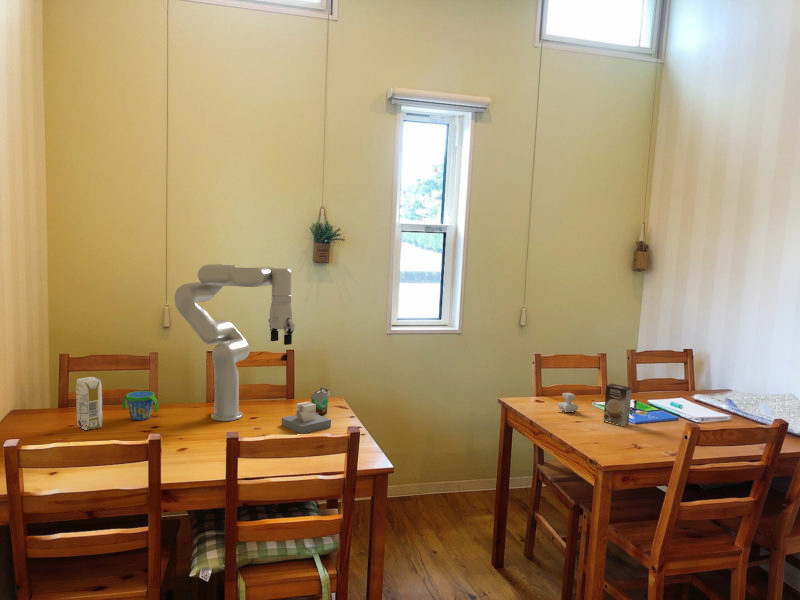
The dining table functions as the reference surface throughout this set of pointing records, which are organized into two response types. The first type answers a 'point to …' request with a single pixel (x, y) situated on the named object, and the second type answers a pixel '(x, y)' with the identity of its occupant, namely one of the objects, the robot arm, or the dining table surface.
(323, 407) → the food container
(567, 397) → the stamp
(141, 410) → the snack cup
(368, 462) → the dining table surface
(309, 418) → the block
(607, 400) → the coffee box
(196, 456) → the dining table surface
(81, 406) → the juice carton
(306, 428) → the stand
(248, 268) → the robot arm
